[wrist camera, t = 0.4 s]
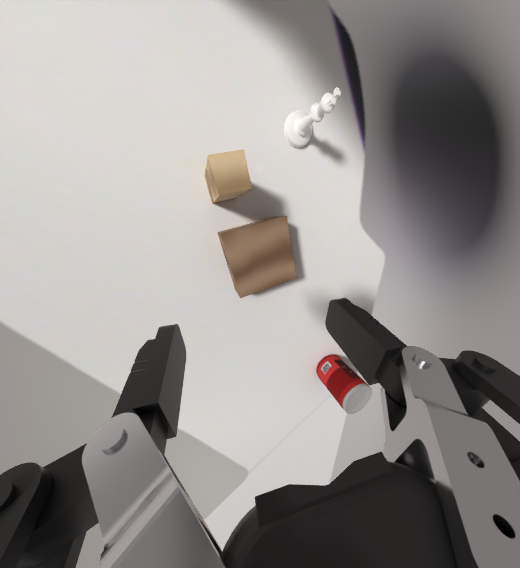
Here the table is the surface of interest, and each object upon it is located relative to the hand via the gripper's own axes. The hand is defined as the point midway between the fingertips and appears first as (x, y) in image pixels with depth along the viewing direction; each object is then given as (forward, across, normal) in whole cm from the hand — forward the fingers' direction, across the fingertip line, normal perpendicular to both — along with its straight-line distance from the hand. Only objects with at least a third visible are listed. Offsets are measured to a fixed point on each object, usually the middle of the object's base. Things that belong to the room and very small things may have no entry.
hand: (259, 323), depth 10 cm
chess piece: (+30, -14, -13) cm, 36 cm away
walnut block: (+26, -5, +6) cm, 27 cm away
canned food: (+21, -24, +39) cm, 50 cm away
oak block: (+27, 0, -5) cm, 28 cm away
